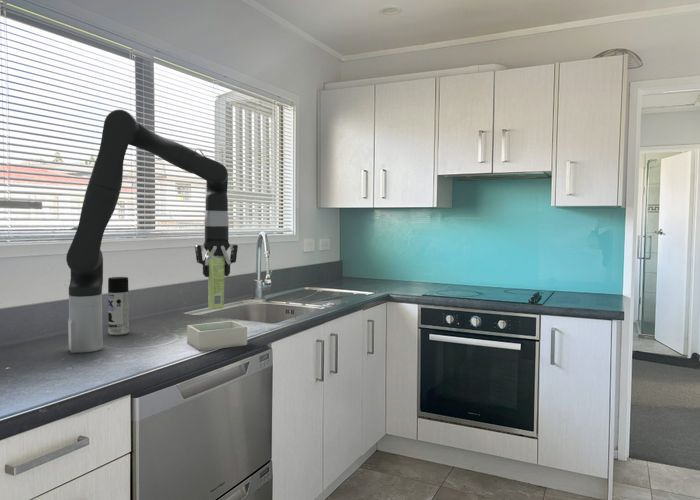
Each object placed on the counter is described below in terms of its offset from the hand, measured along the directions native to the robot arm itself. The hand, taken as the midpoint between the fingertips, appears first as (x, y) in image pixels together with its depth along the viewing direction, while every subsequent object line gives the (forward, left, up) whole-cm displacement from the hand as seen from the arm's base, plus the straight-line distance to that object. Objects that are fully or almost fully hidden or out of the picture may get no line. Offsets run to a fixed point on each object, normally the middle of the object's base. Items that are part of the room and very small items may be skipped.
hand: (216, 276), depth 173 cm
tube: (0, 0, -11) cm, 11 cm away
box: (0, 0, -22) cm, 22 cm away
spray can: (-24, +33, -23) cm, 47 cm away
